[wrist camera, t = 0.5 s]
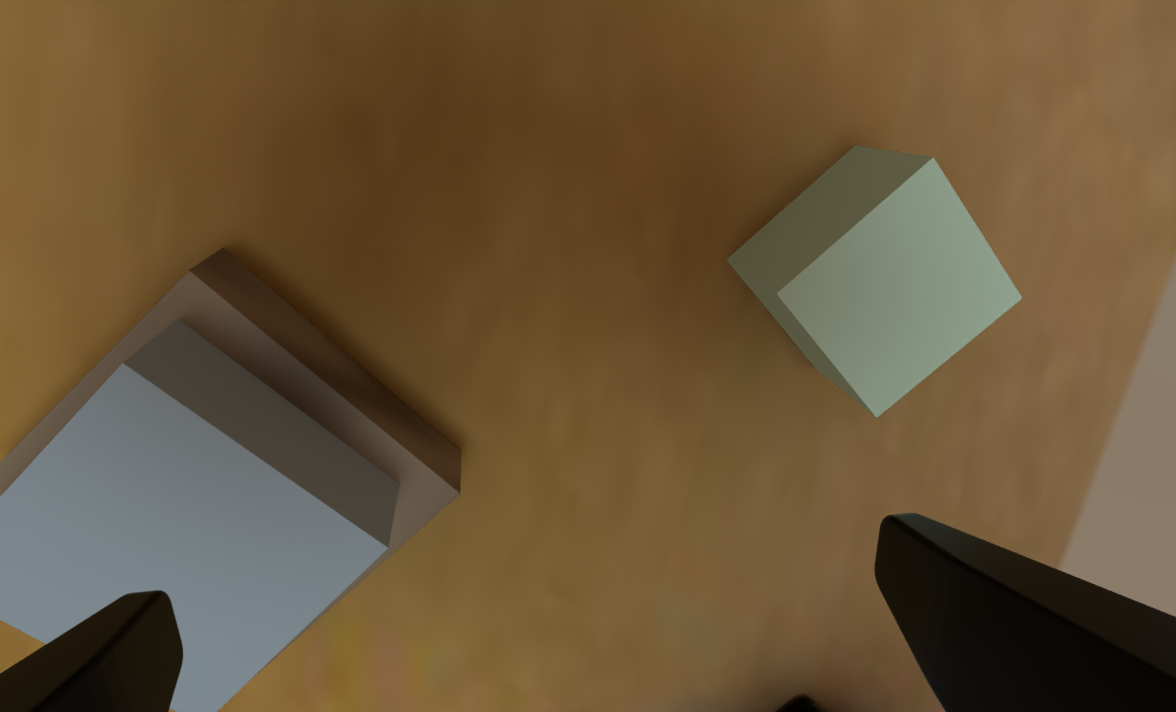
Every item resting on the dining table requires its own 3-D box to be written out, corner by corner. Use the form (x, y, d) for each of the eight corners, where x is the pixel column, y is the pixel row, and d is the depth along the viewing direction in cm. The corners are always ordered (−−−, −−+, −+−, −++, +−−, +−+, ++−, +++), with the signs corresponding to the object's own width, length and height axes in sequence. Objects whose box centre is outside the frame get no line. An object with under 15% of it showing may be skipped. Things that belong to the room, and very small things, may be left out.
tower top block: (399, 483, 20) (388, 548, 17) (237, 640, 21) (202, 725, 18) (177, 318, 17) (122, 362, 15) (5, 505, 18) (-76, 579, 16)
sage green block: (933, 264, 23) (1022, 298, 19) (813, 366, 24) (877, 418, 20) (852, 144, 21) (933, 156, 18) (724, 258, 22) (776, 293, 18)
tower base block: (461, 444, 23) (460, 493, 20) (271, 615, 24) (246, 683, 22) (228, 244, 20) (189, 270, 17) (22, 452, 21) (-46, 508, 18)
